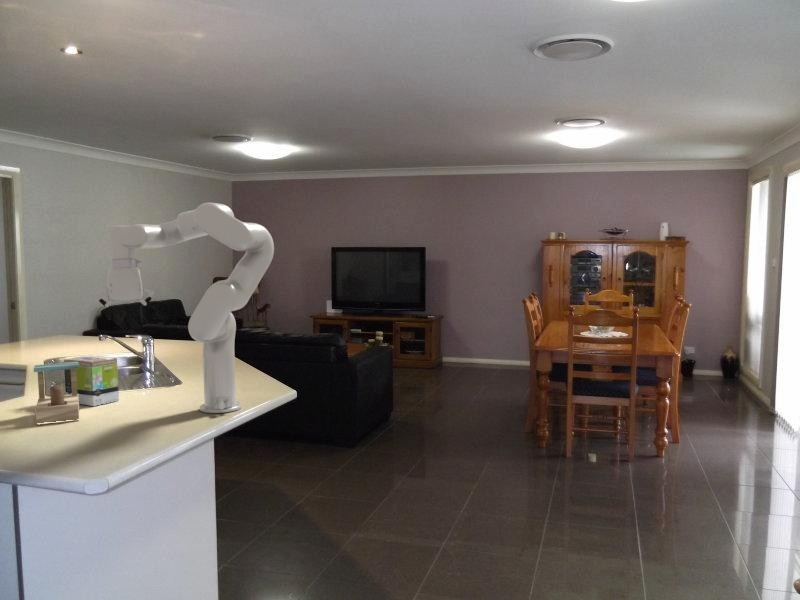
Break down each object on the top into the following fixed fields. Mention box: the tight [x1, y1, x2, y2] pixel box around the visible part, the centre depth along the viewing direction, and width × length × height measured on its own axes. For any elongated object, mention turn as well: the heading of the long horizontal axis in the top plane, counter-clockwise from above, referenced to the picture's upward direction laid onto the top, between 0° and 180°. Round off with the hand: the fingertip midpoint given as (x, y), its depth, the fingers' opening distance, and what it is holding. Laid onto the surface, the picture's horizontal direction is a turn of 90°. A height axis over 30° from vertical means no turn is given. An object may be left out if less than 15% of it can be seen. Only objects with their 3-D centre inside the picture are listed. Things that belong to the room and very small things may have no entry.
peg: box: [49, 385, 65, 406], centre depth 196 cm, size 4×4×10 cm
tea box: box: [63, 355, 120, 407], centre depth 220 cm, size 15×10×15 cm, turn 59°
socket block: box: [33, 362, 80, 423], centre depth 200 cm, size 16×12×15 cm
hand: (126, 318), depth 211 cm, fingers open, 9 cm apart
